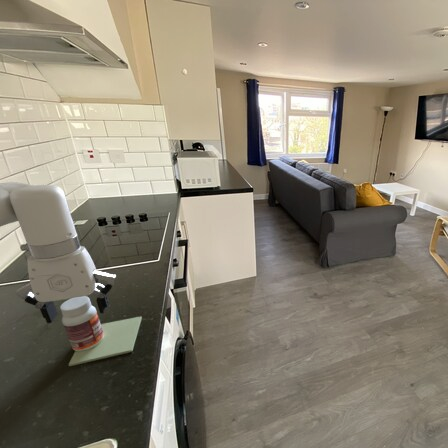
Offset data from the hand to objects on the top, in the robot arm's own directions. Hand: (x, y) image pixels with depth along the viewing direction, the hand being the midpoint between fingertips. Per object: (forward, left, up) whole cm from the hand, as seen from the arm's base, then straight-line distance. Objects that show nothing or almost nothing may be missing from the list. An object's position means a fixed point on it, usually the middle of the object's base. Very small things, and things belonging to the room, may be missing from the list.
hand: (79, 314), depth 59 cm
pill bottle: (0, 0, -8) cm, 8 cm away
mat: (+4, 0, -9) cm, 10 cm away
